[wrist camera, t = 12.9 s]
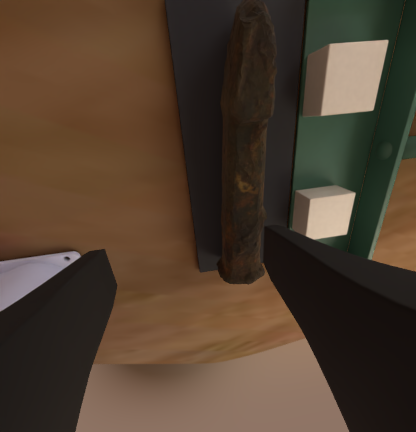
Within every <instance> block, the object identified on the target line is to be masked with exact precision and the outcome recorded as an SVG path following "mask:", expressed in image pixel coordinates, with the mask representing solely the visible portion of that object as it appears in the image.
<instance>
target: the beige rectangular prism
mask: <svg viewBox="0 0 416 432" xmlns="http://www.w3.org/2000/svg"><path fill="white" fill-rule="evenodd" d="M387 46H388V40H376V41H362V42H348V43H334V44H329V45H327V46H325V47H323V48H321V49H319V50H317V51H315V52H313V53H311V54H309V55H308V59H307V70H306V81H305V92H304V103H303V114H302V116H303V117H311V116H326V115H336V114H346V113H356V112H366V111H372V110H374V105H375V101H376V96H377V92H378V87H379V83H380V78H381V73H382V69H383V64H384V60H385V55H386V50H387Z"/></svg>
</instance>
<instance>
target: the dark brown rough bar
mask: <svg viewBox="0 0 416 432" xmlns="http://www.w3.org/2000/svg"><path fill="white" fill-rule="evenodd" d="M276 56H277V49H276V39H275V32H274V25H273V23H272V21H271V16H270V15H269V12H268V9H267V7H266V5H265V3H264V2H262V1H260V0H243V1H242V3H240V4H239V5H238V6H237V9H236V13H235V17H234V22H233V26H232V30H231V34H230V40H229V42H228V44H227V58H226V61H225V66H224V80H223V86H222V94H221V101H220V104H221V110H222V118H223V140H222V206H221V208H222V211H221V226H222V257H221V258H220V259H219V260H218V262H217V264H216V265H217V266H218V272H219V274H220V277H221V278H223V280H224V281H226V282H227V283H229V284H251V283H253V282H254V281H256V280H257V279H258V278H260V277H262V276H263V275H264V274H265V271H264V268H263V266H262V264H261V262H260V246H261V243H260V242H261V232H262V229H263V227H264V225H263V223H264V221H265V220H266V219H267V213H266V211H265V209H264V207H263V192H264V179H265V161H266V134H267V125H268V118H270V117H271V116H272V115H273V112H274V100H275V87H274V82H275V77H276V74H277V67H276V61H275V58H276Z"/></svg>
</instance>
